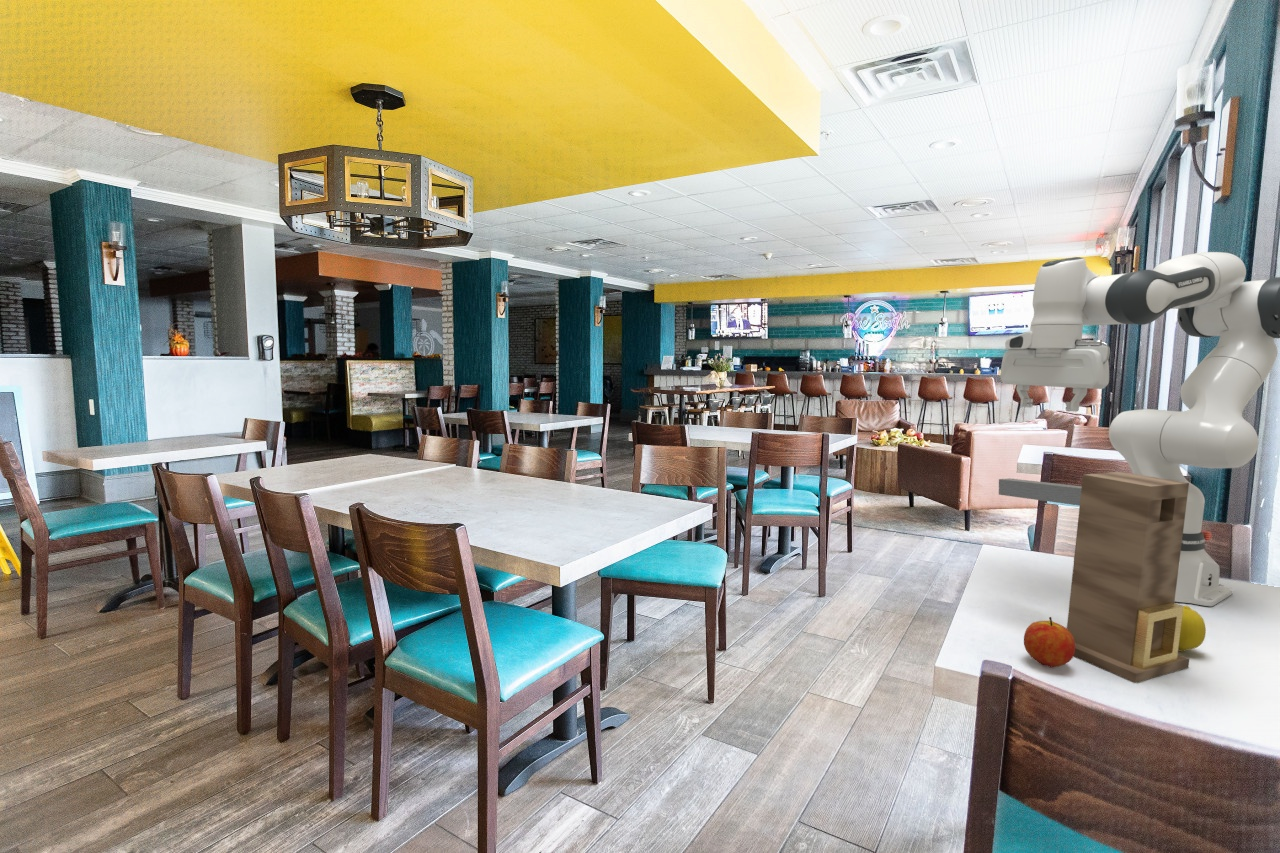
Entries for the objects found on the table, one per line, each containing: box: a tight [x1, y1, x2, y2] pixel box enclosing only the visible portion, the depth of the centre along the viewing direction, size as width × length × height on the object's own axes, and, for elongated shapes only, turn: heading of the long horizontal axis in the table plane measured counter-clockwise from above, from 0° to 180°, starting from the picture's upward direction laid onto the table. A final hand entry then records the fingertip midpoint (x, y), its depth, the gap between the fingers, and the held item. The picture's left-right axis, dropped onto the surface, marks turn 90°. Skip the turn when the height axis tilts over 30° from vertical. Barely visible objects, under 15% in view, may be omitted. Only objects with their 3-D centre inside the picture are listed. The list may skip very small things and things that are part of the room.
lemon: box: [1178, 605, 1207, 652], centre depth 108 cm, size 6×6×8 cm
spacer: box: [1132, 602, 1185, 670], centre depth 100 cm, size 9×2×9 cm, turn 113°
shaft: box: [998, 478, 1082, 507], centre depth 112 cm, size 3×24×3 cm, turn 23°
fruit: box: [1023, 616, 1075, 668], centre depth 102 cm, size 7×7×8 cm
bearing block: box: [1066, 471, 1190, 684], centre depth 104 cm, size 14×14×30 cm
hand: (1048, 409), depth 129 cm, fingers open, 8 cm apart
